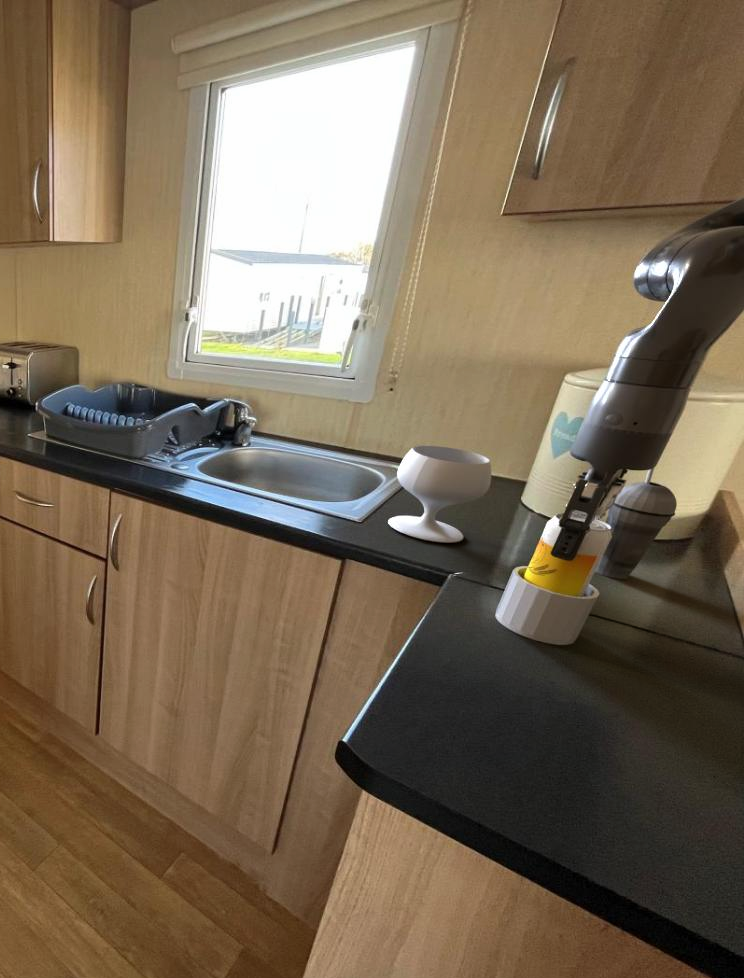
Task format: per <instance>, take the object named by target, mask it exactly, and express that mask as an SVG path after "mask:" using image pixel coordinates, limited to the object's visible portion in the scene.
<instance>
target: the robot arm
mask: <svg viewBox="0 0 744 978" xmlns="http://www.w3.org/2000/svg"><path fill="white" fill-rule="evenodd" d="M632 279H633V280H632V282H633V287H634V289H635V291H636V292H637V294H639V295H640V296H641V297H643V298H644V299H647V300H648V301H649V300H650V301H653V302H658V303H664V304H663V306H662V308H661V309H660V310H659V312H658V313H657V315H656V316H655V317H654V319H653V320H652V322H650V323H649V324H647V325H645V326H641V327H638V328H637V327H636V328H635V329H632V330H631V331H629V332H628V333H626V334H625V335H624V337H623V338H622V339H621V340H620V343H619V344H618V347H617V349H616V350H615V353H614V355H613V357H612V360H611V363H610V365H609V367H608V370H607V372H606V374H605V377H604V379H603V381H602V382H601V385H600V386H599V387H598V389H597V390H596V393H595V394H594V395H593V398H592V399H591V401H590V404H589V407H587V411H586V413H585V415H584V418H583V420H582V422H581V425H580V427H579V428H578V431H577V433H576V434H577V435H576V436H575V439H574V441H573V443H572V446H571V448H570V451H569V454H570V456H571V457H573V458H574V459H576V460H578V461H581V462H587V463H589V464H590V468H589V469H588V471H582V473H581V474H578V475H577V477H576V479H575V481H574V483H573V490H572V492H571V493H570V496H569V498H568V499H567V501H566V503H565V510H564V512H563V513H564V514H563V517H562V519H560V520H559V526H560V528H561V531H560V533H559V535H558V537H557V539H556V542H555V544H554V546H553V548H552V551H551V555H552V556H553V557H556V558H560V559H563V560H567V561H572V560H573V559H574V558H575V557H576V554H577V552H578V550H579V548H580V546H581V544H582V542H583V540H584V538H585V535H586V534H587V533H588V532H590V530H591V528H590V527H591V526H592V524H593V522H594V520H595V519H597V520H600V519H601V520H602V519H603V518H604V517H605V516H606V515H607V512H608V509H610V508H611V507H612V506H613V504H614V502H615V501H616V498H617V496H618V494H619V493H621V491H622V489H623V488H624V487H626V483H627V481H628V480H627V479H625V478H624V476H625V475H627V473H628V471H639V472H641V471H649V470H650V469H653V468H654V469H655V468H656V467H657V465H658V464H659V461H660V459H661V457H662V455H663V453H664V451H665V449H666V447H667V446H668V443H669V442H670V439H671V437H672V436H673V434H674V431H675V430H676V427H677V425H678V423H679V422H680V420H681V418H682V416H683V413H684V411H685V409H686V405H687V402H688V400H689V399H688V398H689V395H690V393H691V391H692V388H693V387H694V385H695V382H696V380H697V378H698V377H699V374H700V372H701V370H702V368H703V366H704V364H705V362H706V359H707V358H708V355H709V354H710V351H711V349H712V348H713V346H715V344H716V343H717V342H718V341H719V340H720V339H721V338H722V337H723V336H724V335H725V334H726V333H727V331H728V330H729V329H731V327H732V326H733V325H734V324H735V323H736V321H737V320H738V319H739V317H740V316H741V315H742V314H743V313H744V196H742V197H741V198H739V199H736V200H734V201H732V202H730V203H728V204H727V205H724V206H722V207H720V208H717V209H716V210H714V211H712V212H710V213H708V214H706V215H704V216H702V217H700V218H698V219H696V220H694V221H692V222H690V223H688V224H686V225H684V226H683V227H681V228H679V229H678V230H675V231H674V232H672V233H671V234H669V235H668V236H666V237H664V238H663V239H661V240H660V241H659V242H658V243H657V244H655V245H654V246H653V247H652V248H651V249H649V250H648V251H647V252H646V253H645V254H644V255H643V257H642V258H641V259H640V261H639V262H638V264H637V266H636V267H635V270H634V272H633V277H632ZM573 514H576V515H582V516H586V519H585V521H584V522H583V521H579V520H575V519H571V518H572V516H573ZM601 520H600V521H601Z"/></svg>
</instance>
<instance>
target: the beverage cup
mask: <svg viewBox="0 0 744 978" xmlns="http://www.w3.org/2000/svg"><path fill="white" fill-rule="evenodd" d="M654 470H655V467H654V468H653V469H650V470H647V471H648V472H647V474H646V476H645V477H646V478H645V481H638V482H633V483H630V484H627V485H625V486H624V488H623V489H622V491H621V493H619V494H618V496H617V498H616V501H615V502H614V504H613V506H612V507H611V508H610V509H608V510H607V517H606V519H605V523H607V524H608V525H610V526H611V536H612V538H611V540H610V542H609V544H608V546H607V548H606V550H605V552H604V554H603V556H602V558H601V560H600V562H599V564H598V566H597V568H596V570H595V572H594V573H596V574H599V575H601V576H604V577H608V578H612V579H616V580H626V579H628V578H629V577H630V575H631V574H632V572H633V571H634V570H635V569H636V567H637V566H638V565H639V563H640V561H641V560H642V558H643V557H644V556H645V554H646V553H647V552H648V550H649V548H650V547H651V545H652V544H653V543H654V541H655V539H656V538H657V537H658V535H659V534H660V532H661V530H662V529H663V528H664V527H666V525H667V524H668V523H669V522H670V521H671V520H672V517H674V516H676V510H677V507H678V506H677V504H678V503H677V497H676V496H675V494H674V493H673V491H672V490H671V489H670V488H668V487H667V486H666V485H664V484H661V483H659V482H653V481H651V480H652V478H653V474H654Z"/></svg>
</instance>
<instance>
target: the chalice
mask: <svg viewBox="0 0 744 978" xmlns="http://www.w3.org/2000/svg"><path fill="white" fill-rule="evenodd" d="M396 476H397V480H398V483H399V485H400V486H401V487H402V488H403V489H405V490H406V491H407V492H408V493H410V494H411V495H412V496H414V497H415V498H416V499H417V500H419V501H420V503H421V504H422V506H423V508H424V509H423V510H424V512H423V514H422V516H415V515H396V516H394V517H391V518H389V519H388V520H387V523H388V525H389V526H390V527H391V528H393V529H394V530H396V531H397V532H400V533H402V534H405V535H407V536H410V537H413V538H417V539H420V540H424V541H430V542H437V543H457V542H460V541H462V540H463V539H464V534H463V533H462V532H461V531H460V530H459V529H457V528H456V527H454V526H452V525H449V524H448V523H444V522H441V521H438V520H436V515H437V513H438V512H439V511H441V510H442V509H444V508H446V507H449V506H453V505H459V504H464V503H469V502H473V501H476V500H478V499H480V498H481V497H484V495H485V494H486V493H487V492H488V491H489V489H490V486H491V481H492V465H491V461H490V459H489V458H488V457H486V456H485V455H481V454H479V453H476V452H472V451H468V450H463V449H458V448H453V447H446V446H437V445H420V446H419V445H417V446H414V447H412V448H411V449H410V450H409V451H408V452H407V453H406V454H405V456H404V457H403V458H402V460H401V463H400V464H399V467H398V468H397V472H396Z"/></svg>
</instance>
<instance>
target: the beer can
mask: <svg viewBox="0 0 744 978" xmlns="http://www.w3.org/2000/svg"><path fill="white" fill-rule="evenodd" d="M563 514H564V512H561V513H556V514H554V516H553V517H552V518H551V519H549V520H548V521H547V522H546V524H545V527H544V529H543V532H542V534H541V536H540V538H539V541H538V543H537V545H536V548H535V550H534V553H533V555H532V557H531V560H530V561H529V563H528V565H527V566H528V568H527V571H526V573H525V575H524V578H523V579H524V580H526V581H527V582H529V583H531V584H533V585H535V586H538V587H540V588H543V589H546V590H549V591H552V592H555V593H559V594H564V595H569V596H577V597H583V595H584V593H585V591H586V589H587V587H588V585H589V584H591V580H592V578H593V576H594V574H595V573H596V572H595V570H596V568H597V566H598V564H599V562H600V560H601V558H602V556H603V554H604V552H605V550H606V548H607V546H608V544H609V542H610V540H611V538H612V536H611V526H610V525H608V524H607V523H606V521H602V520H597V519H595V520H594V522H593V524H592V526H591V527H590V528H591V530H590V532H588V533H587V534H586V535H585V538H584V540H583V542H582V544H581V546H580V548H579V550H578V552H577V554H576V557H575V558H574V559H573V560H572V561H567V560H563V559H560V558H556V557H553V556H552V555H551V551H552V548H553V546H554V544H555V542H556V539H557V537H558V535H559V533H560V531H561V528H560V526H559V520H560V519H562V517H563ZM571 519H575V520H579V521H583V522H584V521H585V519H586V516H582V515H581V514H579V515H577V513H576V514H573V516H572V518H571Z"/></svg>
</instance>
